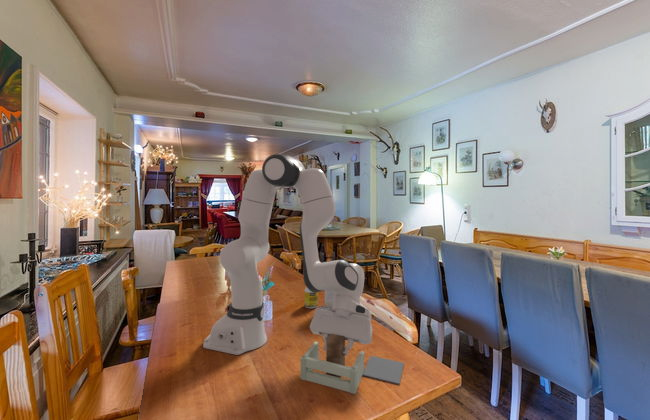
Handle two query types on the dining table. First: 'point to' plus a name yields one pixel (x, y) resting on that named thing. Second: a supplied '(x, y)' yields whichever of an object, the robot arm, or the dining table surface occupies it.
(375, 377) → the mat
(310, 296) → the pill bottle
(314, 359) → the crate
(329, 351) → the walnut block
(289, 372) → the dining table surface
